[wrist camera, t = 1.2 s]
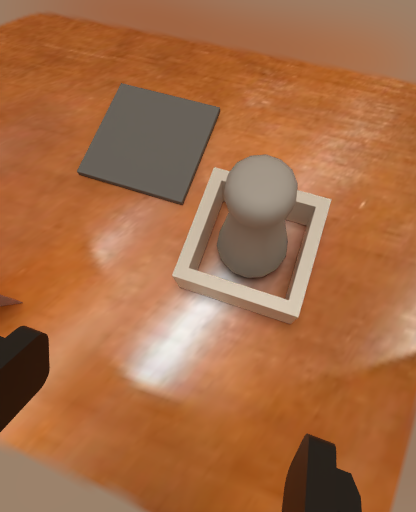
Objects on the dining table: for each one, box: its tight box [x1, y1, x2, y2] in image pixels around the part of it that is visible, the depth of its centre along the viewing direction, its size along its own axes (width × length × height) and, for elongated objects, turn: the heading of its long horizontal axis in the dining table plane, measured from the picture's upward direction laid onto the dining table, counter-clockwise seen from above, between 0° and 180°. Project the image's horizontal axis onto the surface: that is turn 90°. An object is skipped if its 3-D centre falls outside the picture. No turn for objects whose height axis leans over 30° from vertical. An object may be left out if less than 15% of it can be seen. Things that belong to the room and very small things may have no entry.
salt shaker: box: [217, 155, 298, 278], centre depth 27 cm, size 6×6×13 cm
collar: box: [172, 167, 331, 324], centre depth 31 cm, size 10×10×4 cm
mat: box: [77, 83, 220, 205], centre depth 37 cm, size 11×11×1 cm
